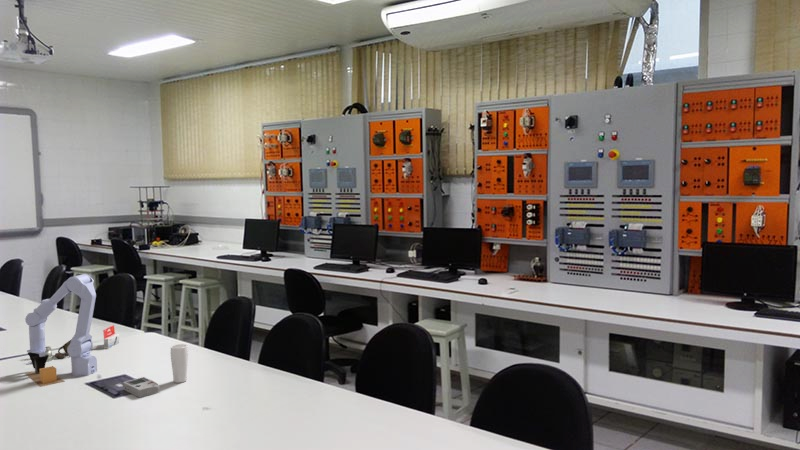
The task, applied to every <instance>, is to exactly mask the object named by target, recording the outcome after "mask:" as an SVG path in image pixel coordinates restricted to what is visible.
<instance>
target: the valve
mask: <svg viewBox="0 0 800 450" xmlns="http://www.w3.org/2000/svg"><path fill="white" fill-rule="evenodd" d="M45 348H46V351H45V355H49V356H48V358H47V361H46V363H49V362H52V360H53V358H52V356H53V352H52V346H45Z"/></svg>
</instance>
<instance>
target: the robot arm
mask: <svg viewBox="0 0 800 450" xmlns="http://www.w3.org/2000/svg"><path fill="white" fill-rule="evenodd" d="M94 282H95V280H94V279H93V278H92V277H91V276H90V275H89V274H87V273H81V274H78V275H75V276H70V277H69V278H68V279H66V280H65V281H64V282H63V283H62V285H61V286H60V287H59V288H58V289H57V290H56V291H55V293H53V295H52V296H51V297H50V298H46V299H42V300H41V301H40V304H39V305H38V306H37V307H35V308H33V312H29V313H27V315H26V317H25V318H24V319H25V324H26V325H27V326H28V335H29V336H28V337H29V338H28V339H29V349H28V350H26V353H27V355H28V356H29V358H30V361H31V363H32V368H33V369H35V362H36V366H37V370H38V372H40V371H39V369H41V368H46V364H47V362H46V361H47V358H48V356H49V355H45V351H46V348H45V347H46V333H45V331H46V330H45V326H46V322H47V320H48V317H49V316H50V315H51V314H52V313H53V312H54V311H55V310H56V309H57V307H58V305H57V304H58V303H59V302H60V301H61V300H62V299H63V298H65V297H66V295H68V294H69V293H74V294H75V295H76V296H78V297H79V299H80V304H79V311H78V317H77V321H76V326H75V333H74V335H73V336H72V338H70V340H71V343H70V345H69V346H68V348H67V352H68V354H69V355H68V356H70V359H71V361H70V362H71V375H72V376H77V377H79V376H86V377H87V376H88V377H89V376H90V375H93V374H95V373H97V372H98V360H97V357H96V356H95V355H92V354H91V350H92V348H93V346H94V344H93V336H92V335H91V334H90V331H91V325H92V321H93V316H94V310H95V303H96V298H97V293H96V290H95V286H94Z"/></svg>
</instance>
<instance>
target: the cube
mask: <svg viewBox="0 0 800 450" xmlns="http://www.w3.org/2000/svg"><path fill="white" fill-rule="evenodd" d="M39 371H40V381H41V382H42V383H47V382H51V381H56V380H57V376H58V375H57V367H55V366H53V365H52V366H45V368H41V369H39Z"/></svg>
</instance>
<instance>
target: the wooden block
mask: <svg viewBox="0 0 800 450" xmlns="http://www.w3.org/2000/svg"><path fill="white" fill-rule="evenodd" d="M25 375H26V376H27V377H29V379H30V380H32V381H33V382H34V383H35V384H36V385H38V386H39V387H41V388H42V387H45V386H50V385H55V384H60V383H64V382H66V381H65V380H64V379H62V378H61V377H60V376H59V375H57V380H56V381H51V382H47V383H42V382H41V381H40V372H38V370H37V366H36V362H35V368H34V371H32V372H27V373H25Z"/></svg>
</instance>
